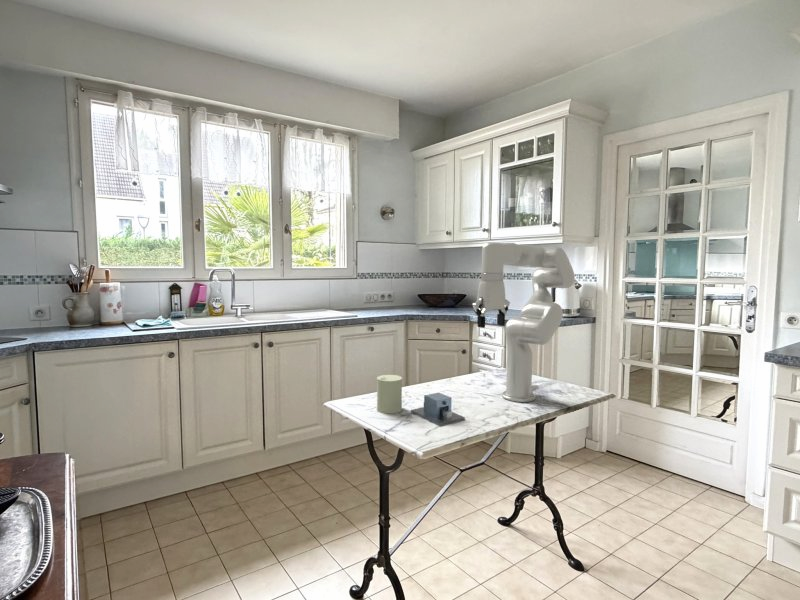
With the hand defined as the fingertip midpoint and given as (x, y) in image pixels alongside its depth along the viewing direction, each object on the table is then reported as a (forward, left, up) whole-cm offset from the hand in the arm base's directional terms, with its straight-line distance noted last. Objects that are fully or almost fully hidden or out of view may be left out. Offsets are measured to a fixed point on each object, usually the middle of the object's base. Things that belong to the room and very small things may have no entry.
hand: (491, 326), depth 160 cm
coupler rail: (+20, -5, -30) cm, 37 cm away
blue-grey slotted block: (+20, -5, -30) cm, 36 cm away
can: (+30, -20, -31) cm, 47 cm away
